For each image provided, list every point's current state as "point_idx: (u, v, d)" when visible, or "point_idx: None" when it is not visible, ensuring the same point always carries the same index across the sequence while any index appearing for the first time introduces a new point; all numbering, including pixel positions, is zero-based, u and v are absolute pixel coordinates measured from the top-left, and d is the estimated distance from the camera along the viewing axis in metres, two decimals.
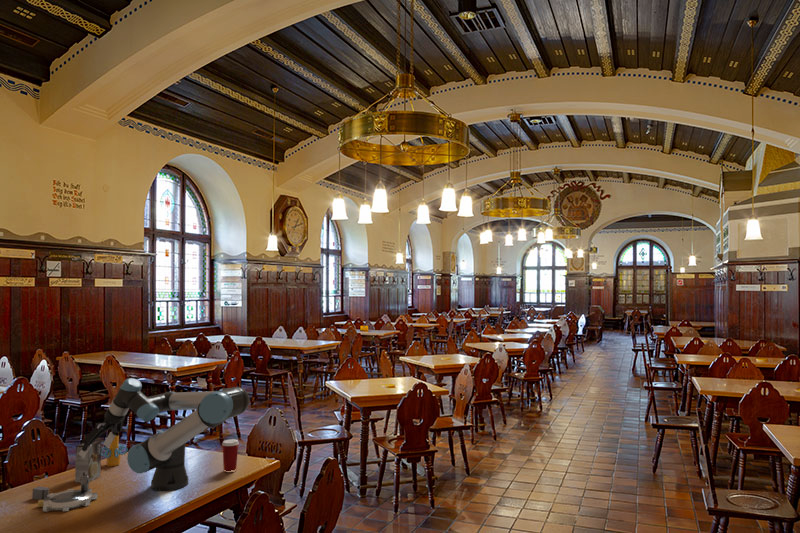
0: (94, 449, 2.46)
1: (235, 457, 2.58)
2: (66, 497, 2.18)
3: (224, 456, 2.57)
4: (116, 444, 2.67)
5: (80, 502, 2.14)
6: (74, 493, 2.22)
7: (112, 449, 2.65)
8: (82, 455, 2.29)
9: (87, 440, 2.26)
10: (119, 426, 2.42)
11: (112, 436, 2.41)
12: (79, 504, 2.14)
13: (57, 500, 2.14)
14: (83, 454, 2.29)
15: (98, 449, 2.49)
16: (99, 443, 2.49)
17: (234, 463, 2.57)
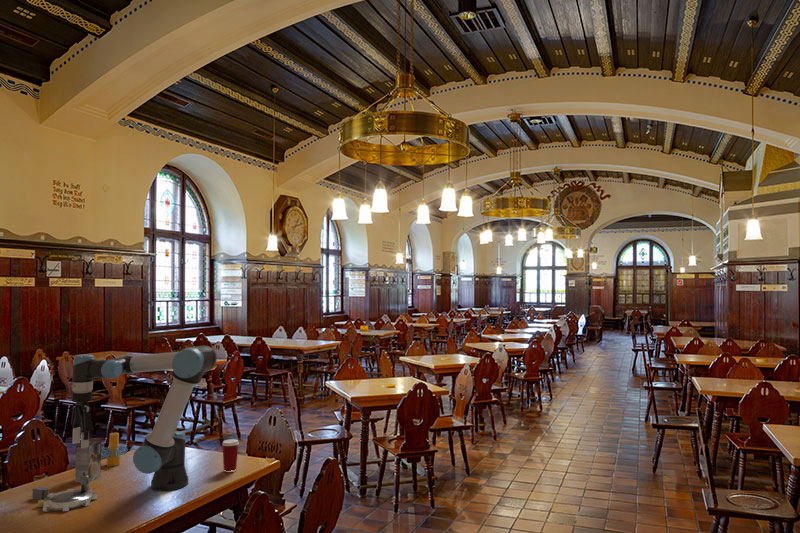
0: (94, 449, 2.46)
1: (235, 457, 2.58)
2: (66, 497, 2.18)
3: (224, 456, 2.57)
4: (116, 444, 2.67)
5: (80, 502, 2.14)
6: (74, 493, 2.22)
7: (112, 449, 2.65)
8: (86, 445, 2.28)
9: (89, 425, 2.26)
10: None
11: (78, 429, 2.34)
12: (79, 504, 2.14)
13: (57, 500, 2.14)
14: (86, 444, 2.28)
15: (98, 449, 2.49)
16: (99, 443, 2.49)
17: (234, 463, 2.57)
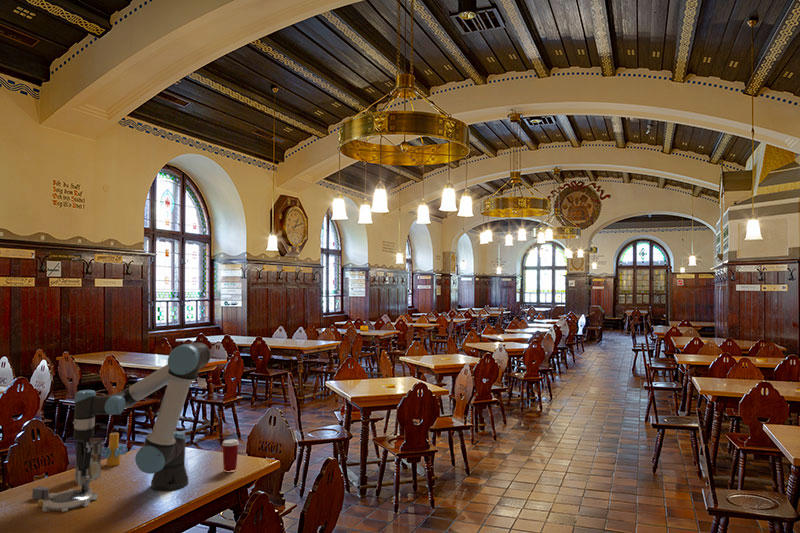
0: (94, 449, 2.46)
1: (235, 457, 2.58)
2: (66, 497, 2.18)
3: (224, 456, 2.57)
4: (116, 444, 2.67)
5: (79, 502, 2.14)
6: (74, 493, 2.22)
7: (112, 449, 2.65)
8: None
9: (87, 465, 2.26)
10: None
11: None
12: (78, 504, 2.13)
13: (57, 500, 2.14)
14: None
15: (98, 449, 2.49)
16: (99, 443, 2.49)
17: (234, 463, 2.57)
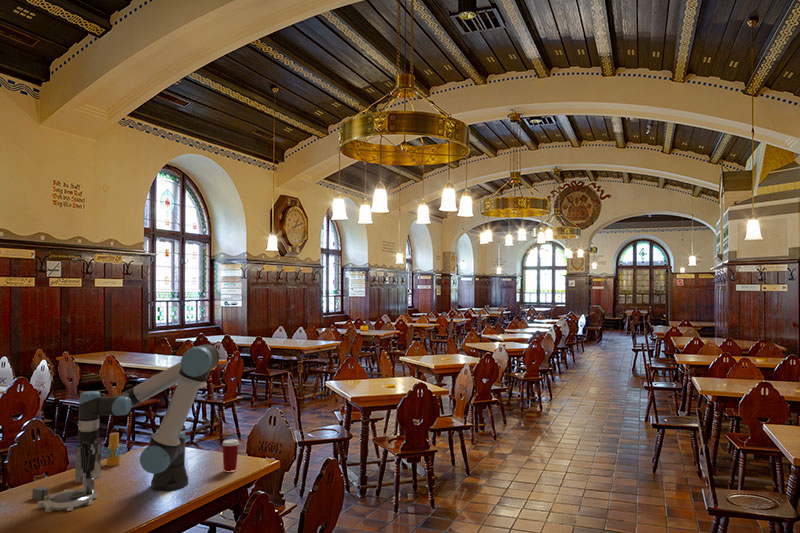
0: None
1: (235, 457, 2.58)
2: (66, 496, 2.18)
3: (224, 456, 2.57)
4: (116, 444, 2.67)
5: (64, 505, 2.10)
6: (79, 494, 2.22)
7: (112, 449, 2.65)
8: None
9: (92, 467, 2.23)
10: None
11: None
12: (63, 507, 2.10)
13: (55, 499, 2.16)
14: None
15: (98, 449, 2.49)
16: (99, 443, 2.49)
17: (234, 463, 2.57)
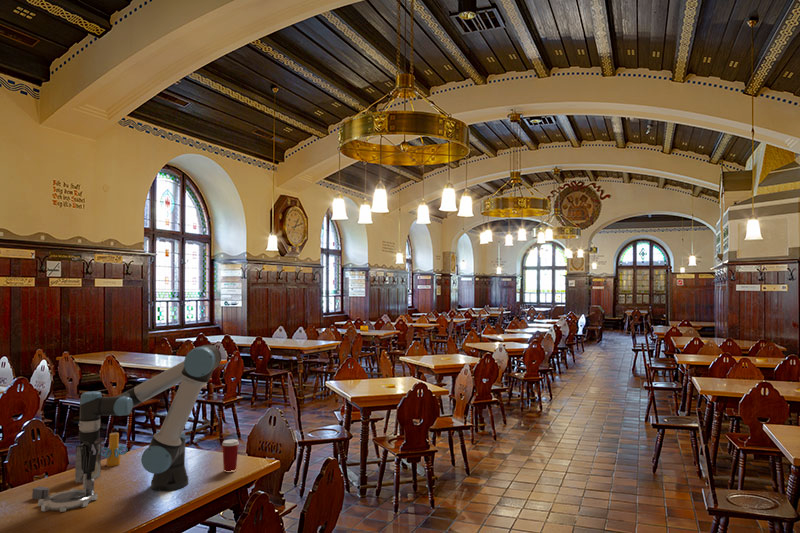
0: None
1: (235, 457, 2.58)
2: (66, 496, 2.18)
3: (224, 456, 2.57)
4: (116, 444, 2.67)
5: (58, 506, 2.10)
6: (80, 494, 2.21)
7: (112, 449, 2.65)
8: None
9: (92, 467, 2.22)
10: None
11: None
12: (57, 508, 2.10)
13: (56, 498, 2.17)
14: None
15: (98, 449, 2.49)
16: (99, 443, 2.49)
17: (234, 463, 2.57)
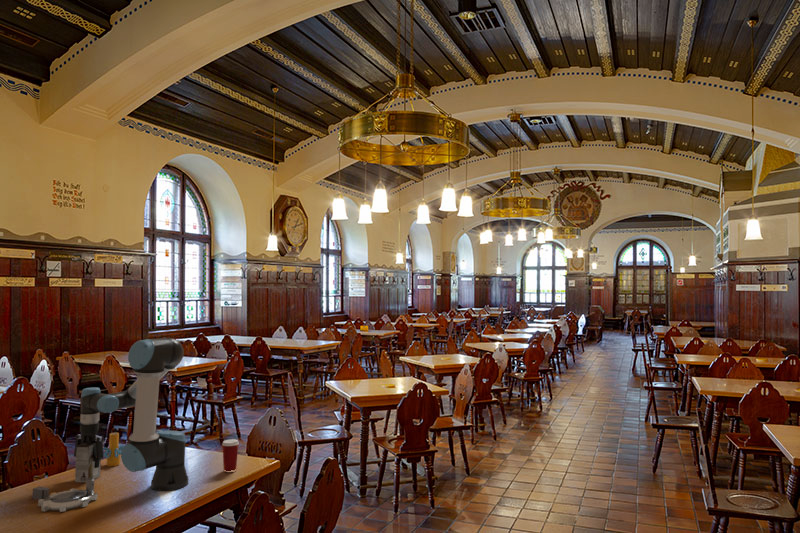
0: None
1: (235, 457, 2.58)
2: (66, 496, 2.18)
3: (224, 456, 2.57)
4: (116, 444, 2.67)
5: (58, 506, 2.10)
6: (80, 494, 2.21)
7: (112, 449, 2.65)
8: (96, 473, 2.45)
9: (101, 454, 2.45)
10: None
11: None
12: (57, 508, 2.10)
13: (56, 498, 2.17)
14: (96, 471, 2.46)
15: None
16: None
17: (234, 463, 2.57)
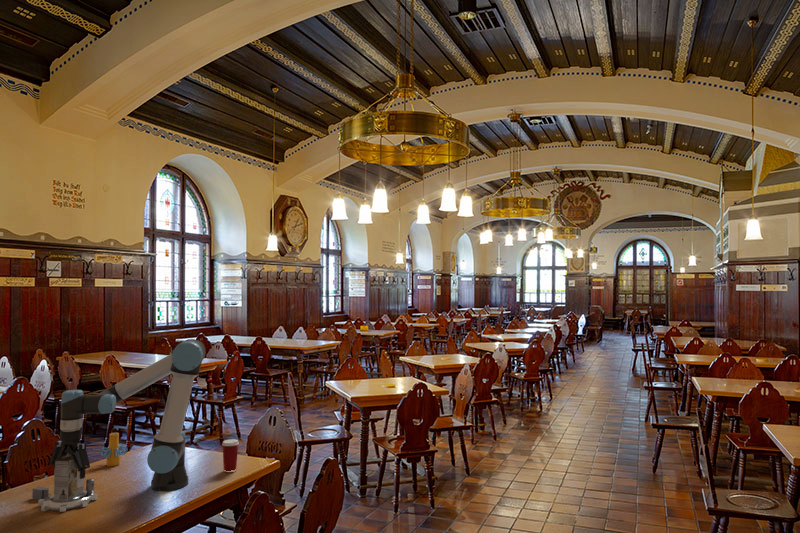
0: None
1: (235, 457, 2.58)
2: None
3: (224, 456, 2.57)
4: (116, 444, 2.67)
5: (58, 506, 2.10)
6: (80, 494, 2.21)
7: (112, 449, 2.65)
8: (82, 484, 2.17)
9: (87, 463, 2.17)
10: (58, 454, 2.22)
11: None
12: (57, 508, 2.10)
13: None
14: (82, 482, 2.17)
15: None
16: None
17: (234, 463, 2.57)
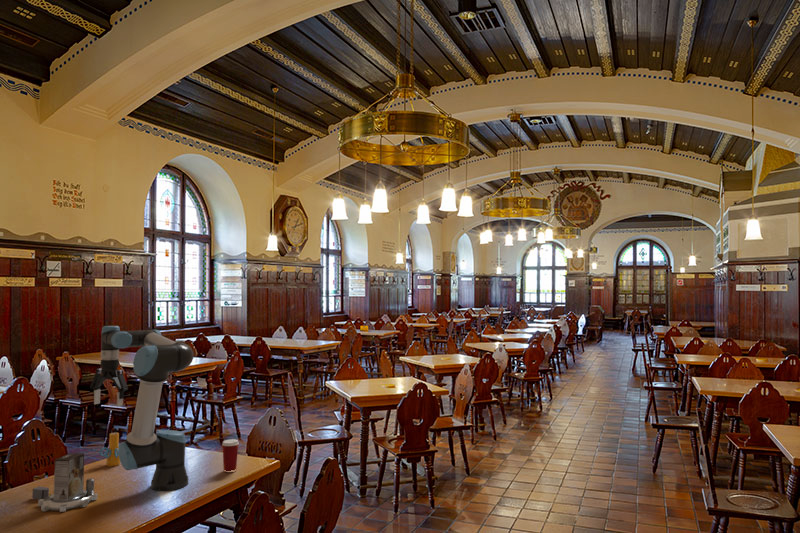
0: (76, 463, 2.18)
1: (235, 457, 2.58)
2: None
3: (224, 456, 2.57)
4: (116, 444, 2.67)
5: (58, 506, 2.10)
6: (80, 494, 2.21)
7: (112, 449, 2.65)
8: (121, 404, 2.53)
9: (125, 385, 2.52)
10: (98, 380, 2.58)
11: (99, 391, 2.58)
12: (57, 508, 2.10)
13: None
14: (121, 402, 2.53)
15: (81, 463, 2.21)
16: (82, 456, 2.22)
17: (234, 463, 2.57)
